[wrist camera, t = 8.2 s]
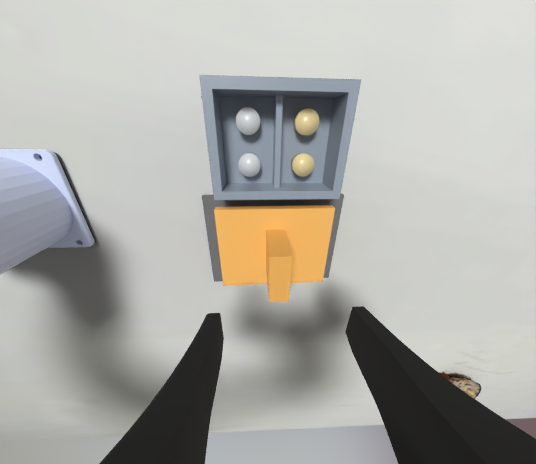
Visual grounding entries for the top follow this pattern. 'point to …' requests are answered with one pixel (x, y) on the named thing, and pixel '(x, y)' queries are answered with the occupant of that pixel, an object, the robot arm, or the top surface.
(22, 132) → the top surface
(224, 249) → the lid
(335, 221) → the mat
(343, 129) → the tub
